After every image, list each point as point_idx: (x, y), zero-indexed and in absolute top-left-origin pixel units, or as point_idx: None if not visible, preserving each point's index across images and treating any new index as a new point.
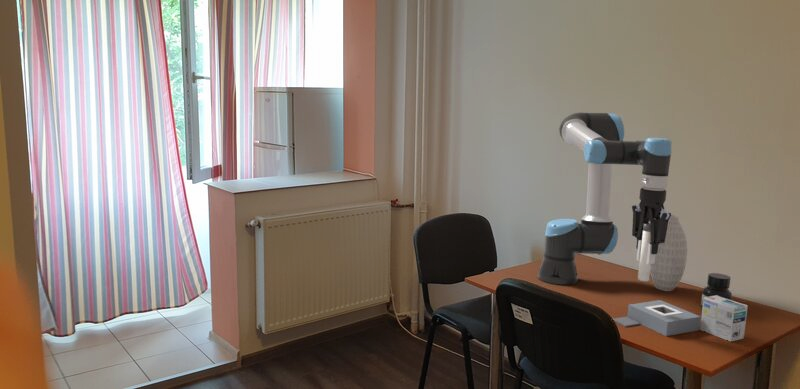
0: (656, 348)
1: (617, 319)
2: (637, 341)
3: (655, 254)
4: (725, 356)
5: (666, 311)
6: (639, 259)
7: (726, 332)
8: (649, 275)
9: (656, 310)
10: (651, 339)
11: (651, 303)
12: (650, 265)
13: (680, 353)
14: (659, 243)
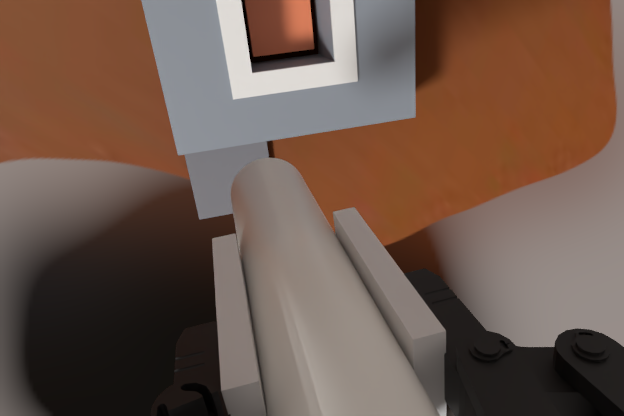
0: (456, 206)
1: (210, 201)
2: (394, 233)
3: (384, 250)
4: (593, 13)
5: None
6: None
7: None
8: (308, 188)
9: (287, 69)
10: (396, 177)
11: (174, 9)
12: (328, 223)
13: (511, 155)
14: (531, 358)
